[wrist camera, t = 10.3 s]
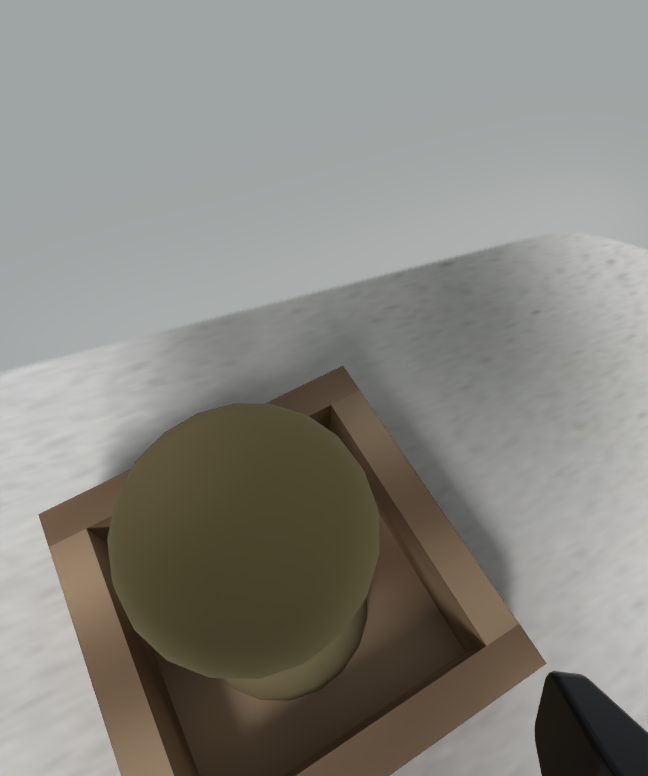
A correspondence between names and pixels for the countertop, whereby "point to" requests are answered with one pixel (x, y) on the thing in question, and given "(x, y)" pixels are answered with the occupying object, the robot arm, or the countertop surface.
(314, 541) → the cork
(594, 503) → the countertop surface
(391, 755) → the tray
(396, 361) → the countertop surface
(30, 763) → the countertop surface
